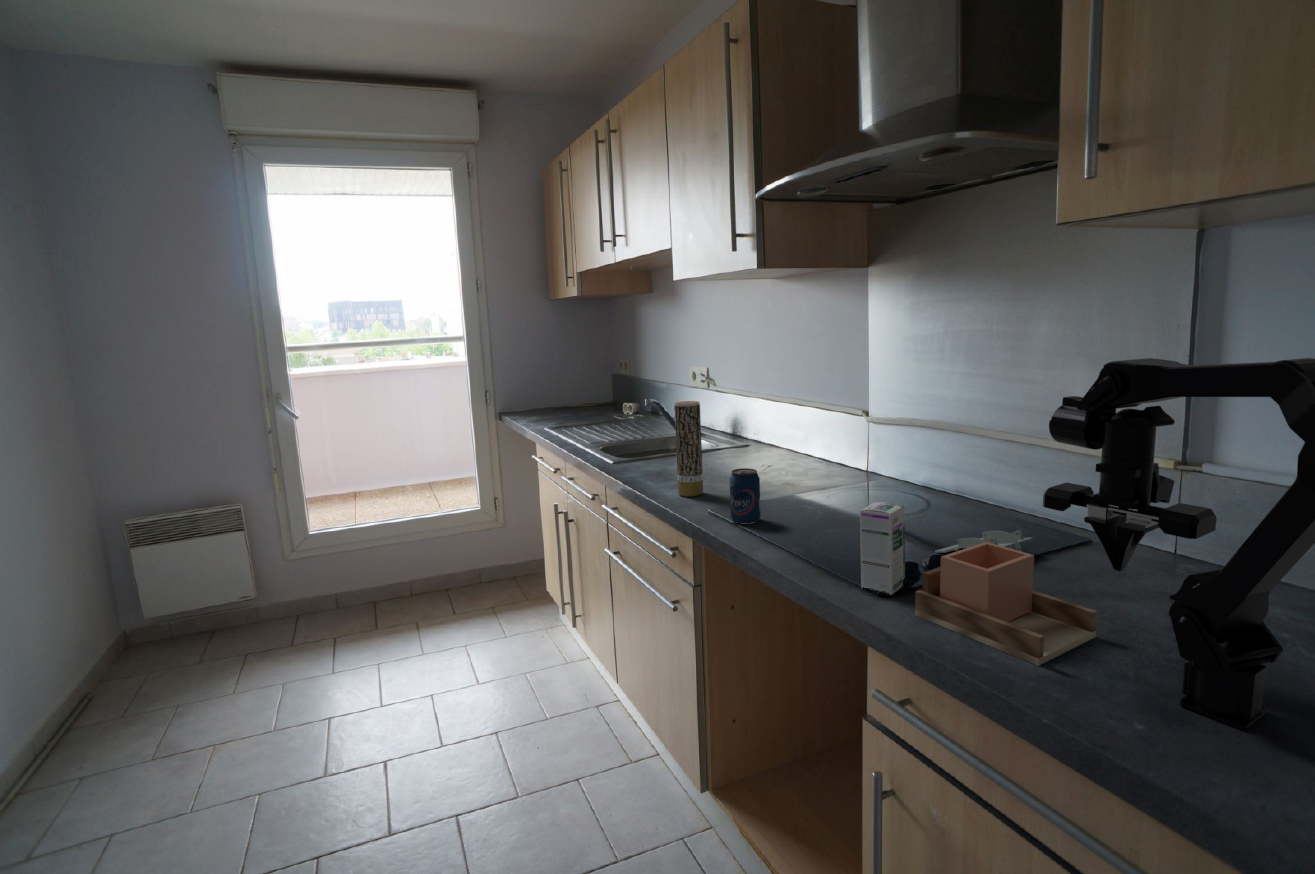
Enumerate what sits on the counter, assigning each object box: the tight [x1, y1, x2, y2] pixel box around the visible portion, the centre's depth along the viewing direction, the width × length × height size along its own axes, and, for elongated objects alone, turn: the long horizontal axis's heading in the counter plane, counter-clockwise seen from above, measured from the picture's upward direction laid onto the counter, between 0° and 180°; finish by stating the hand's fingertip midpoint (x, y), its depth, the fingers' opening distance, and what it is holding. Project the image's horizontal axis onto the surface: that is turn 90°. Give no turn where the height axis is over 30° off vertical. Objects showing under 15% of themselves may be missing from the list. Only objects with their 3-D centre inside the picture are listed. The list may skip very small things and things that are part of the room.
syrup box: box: [859, 501, 906, 596], centre depth 122 cm, size 6×6×14 cm
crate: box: [940, 542, 1035, 622], centre depth 108 cm, size 8×11×9 cm
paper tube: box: [673, 400, 704, 498], centre depth 190 cm, size 7×7×25 cm
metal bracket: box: [934, 529, 1034, 554], centre depth 137 cm, size 14×6×15 cm
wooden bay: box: [914, 566, 1098, 666], centre depth 106 cm, size 20×14×7 cm
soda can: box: [729, 468, 761, 523], centre depth 165 cm, size 7×7×12 cm
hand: (1119, 570), depth 95 cm, fingers closed
